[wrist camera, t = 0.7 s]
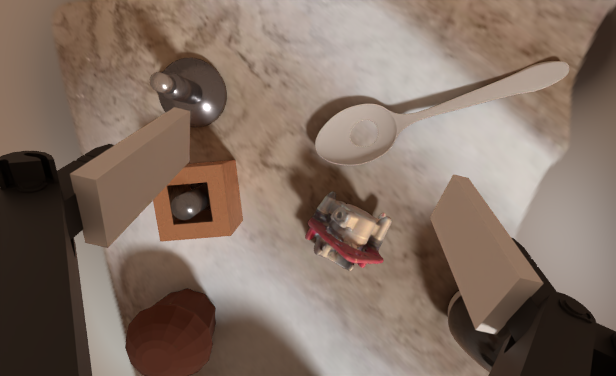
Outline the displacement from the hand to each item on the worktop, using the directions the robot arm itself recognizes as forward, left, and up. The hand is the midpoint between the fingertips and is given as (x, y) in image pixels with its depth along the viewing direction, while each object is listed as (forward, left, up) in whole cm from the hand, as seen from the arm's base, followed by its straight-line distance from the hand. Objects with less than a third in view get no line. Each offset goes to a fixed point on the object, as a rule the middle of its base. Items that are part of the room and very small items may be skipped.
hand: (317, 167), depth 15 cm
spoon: (+3, -17, -29) cm, 34 cm away
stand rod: (-5, +16, -29) cm, 33 cm away
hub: (+9, +16, -29) cm, 34 cm away
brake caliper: (-12, -3, -29) cm, 32 cm away
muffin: (-24, +22, -29) cm, 44 cm away
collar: (-5, +16, -29) cm, 33 cm away
